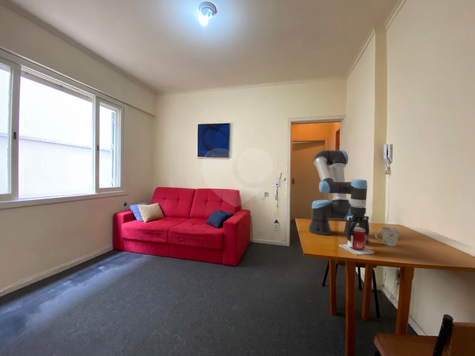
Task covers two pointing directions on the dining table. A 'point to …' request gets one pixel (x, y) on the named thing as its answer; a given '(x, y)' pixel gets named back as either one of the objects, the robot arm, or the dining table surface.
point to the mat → (357, 252)
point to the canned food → (358, 238)
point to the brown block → (366, 236)
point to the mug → (388, 235)
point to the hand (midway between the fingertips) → (356, 245)
